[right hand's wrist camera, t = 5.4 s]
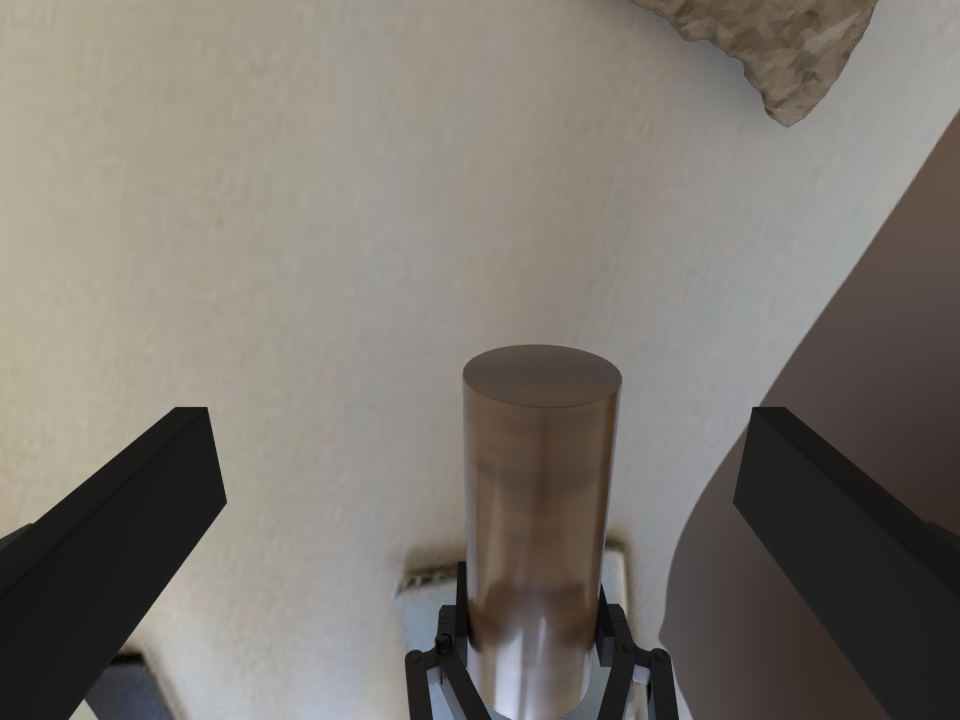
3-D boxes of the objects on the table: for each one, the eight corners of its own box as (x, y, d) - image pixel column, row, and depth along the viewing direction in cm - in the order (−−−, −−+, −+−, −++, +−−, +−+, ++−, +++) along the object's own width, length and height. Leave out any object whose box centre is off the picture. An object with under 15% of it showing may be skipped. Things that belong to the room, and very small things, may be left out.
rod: (464, 344, 33) (460, 408, 25) (602, 343, 33) (642, 407, 25) (469, 612, 42) (466, 724, 34) (579, 611, 42) (603, 723, 34)
